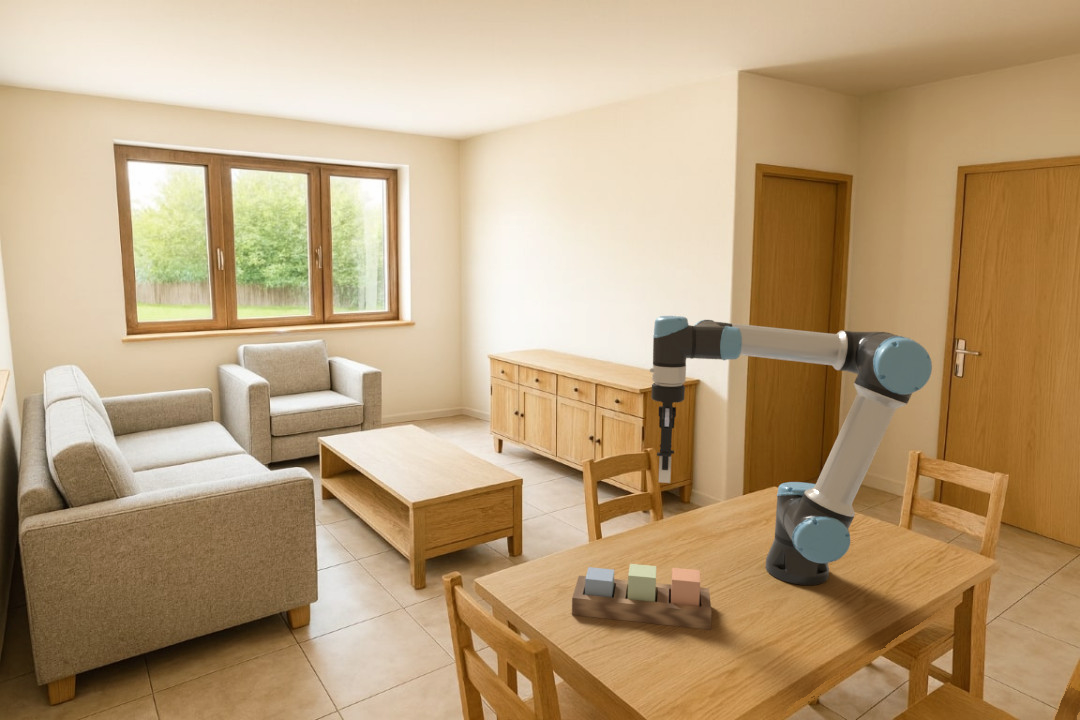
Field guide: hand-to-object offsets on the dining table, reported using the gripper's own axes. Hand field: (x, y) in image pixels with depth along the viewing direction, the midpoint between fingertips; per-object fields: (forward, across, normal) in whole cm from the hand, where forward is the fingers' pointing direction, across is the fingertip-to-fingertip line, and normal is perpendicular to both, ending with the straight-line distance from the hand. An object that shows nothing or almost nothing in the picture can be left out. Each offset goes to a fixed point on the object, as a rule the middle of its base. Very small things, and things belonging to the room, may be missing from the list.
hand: (664, 481), depth 164 cm
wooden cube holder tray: (+26, +12, -4) cm, 29 cm away
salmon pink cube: (+24, +12, +6) cm, 27 cm away
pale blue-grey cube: (+26, +12, -14) cm, 32 cm away
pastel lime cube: (+24, +12, -4) cm, 27 cm away
